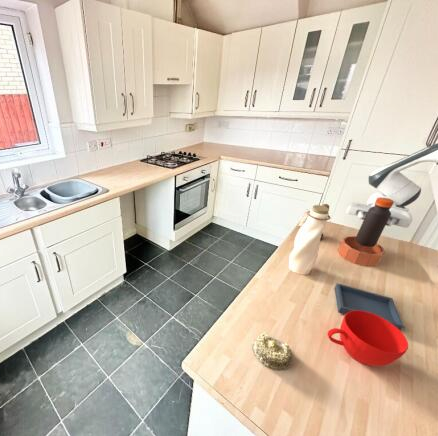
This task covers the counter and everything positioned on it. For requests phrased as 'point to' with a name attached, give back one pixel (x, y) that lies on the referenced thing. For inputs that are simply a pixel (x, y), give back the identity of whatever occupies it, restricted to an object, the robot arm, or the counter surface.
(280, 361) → the seeded bagel
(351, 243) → the bowl
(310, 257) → the water bottle
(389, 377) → the counter surface
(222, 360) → the counter surface
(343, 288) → the tray
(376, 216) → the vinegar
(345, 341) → the ceramic cup
